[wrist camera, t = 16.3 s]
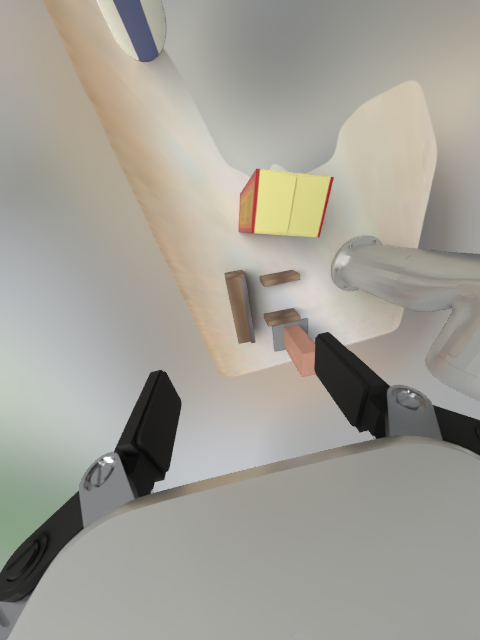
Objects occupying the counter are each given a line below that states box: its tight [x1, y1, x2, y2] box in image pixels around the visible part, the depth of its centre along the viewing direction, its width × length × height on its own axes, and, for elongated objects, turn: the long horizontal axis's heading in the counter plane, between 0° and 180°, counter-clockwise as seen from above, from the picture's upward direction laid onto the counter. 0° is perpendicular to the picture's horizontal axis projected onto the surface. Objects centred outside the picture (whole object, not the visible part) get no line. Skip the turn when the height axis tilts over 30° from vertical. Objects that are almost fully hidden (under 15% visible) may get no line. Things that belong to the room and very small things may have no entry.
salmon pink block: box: [284, 324, 316, 377], centre depth 44 cm, size 4×7×12 cm, turn 8°
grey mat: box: [272, 318, 308, 352], centre depth 50 cm, size 10×9×1 cm
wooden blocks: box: [225, 270, 300, 344], centre depth 41 cm, size 16×16×7 cm
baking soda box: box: [239, 169, 334, 237], centre depth 28 cm, size 10×6×16 cm
